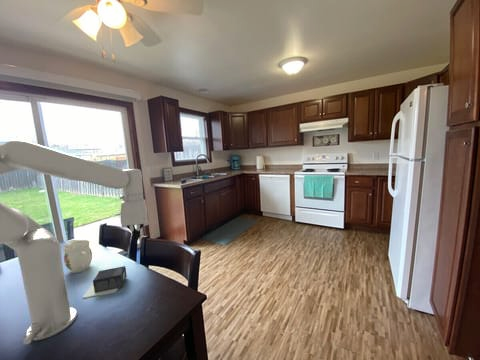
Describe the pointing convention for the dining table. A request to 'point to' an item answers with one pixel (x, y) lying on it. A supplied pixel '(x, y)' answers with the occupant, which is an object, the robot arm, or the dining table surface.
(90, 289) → the mat
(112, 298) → the dining table surface
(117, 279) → the box
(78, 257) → the pitcher
